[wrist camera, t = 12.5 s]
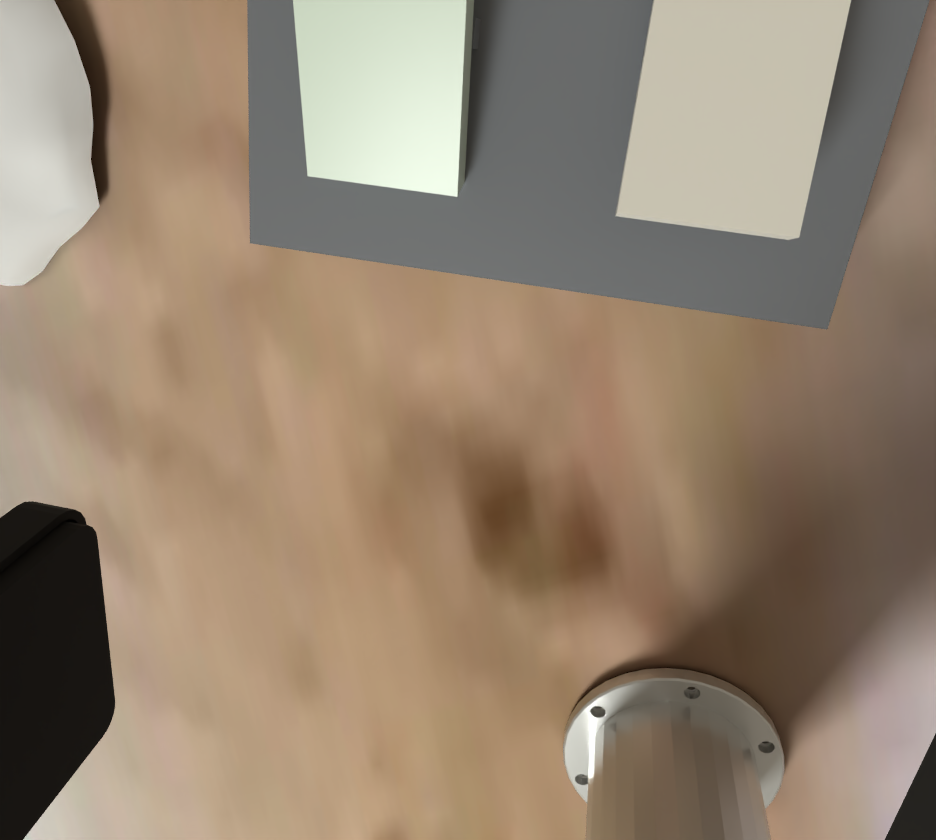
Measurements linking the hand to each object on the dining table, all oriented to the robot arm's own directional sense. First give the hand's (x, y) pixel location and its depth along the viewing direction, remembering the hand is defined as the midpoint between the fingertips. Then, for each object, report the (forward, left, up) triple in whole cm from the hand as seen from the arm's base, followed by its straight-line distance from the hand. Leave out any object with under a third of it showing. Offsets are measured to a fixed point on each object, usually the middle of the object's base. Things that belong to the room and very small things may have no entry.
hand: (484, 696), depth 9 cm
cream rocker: (+7, -4, -24) cm, 25 cm away
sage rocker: (+7, +8, -24) cm, 26 cm away
